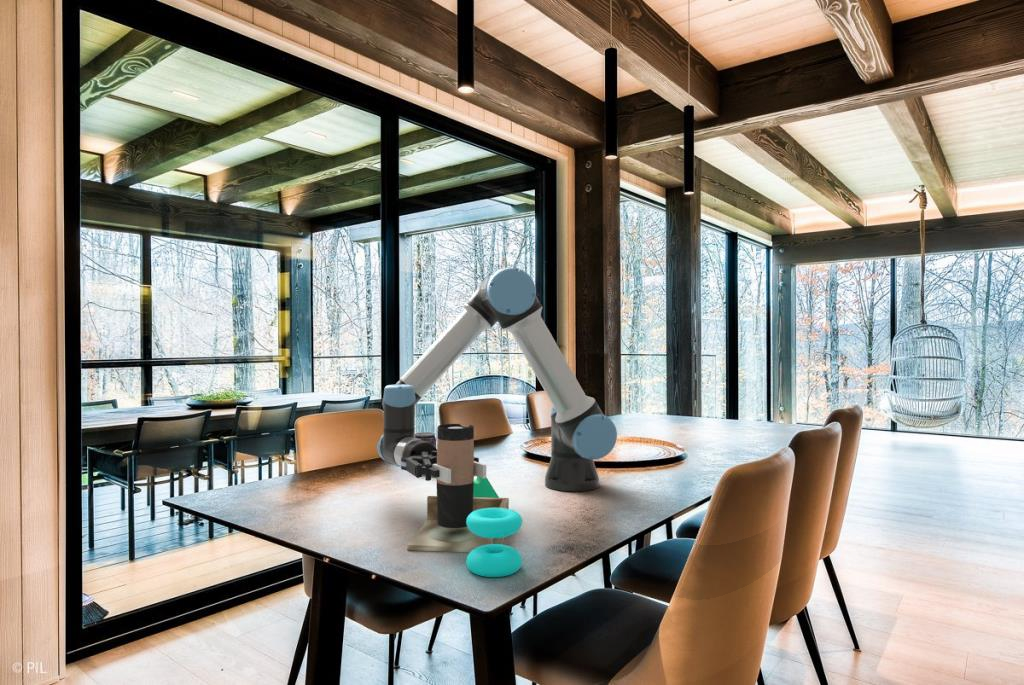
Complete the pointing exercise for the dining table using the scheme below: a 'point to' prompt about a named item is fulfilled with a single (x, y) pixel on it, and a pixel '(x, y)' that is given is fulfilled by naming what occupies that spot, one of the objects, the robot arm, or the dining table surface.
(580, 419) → the robot arm
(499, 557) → the donuts
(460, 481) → the travel mug
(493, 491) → the camera mount
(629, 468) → the dining table surface
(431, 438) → the beverage can
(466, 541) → the corner tray
